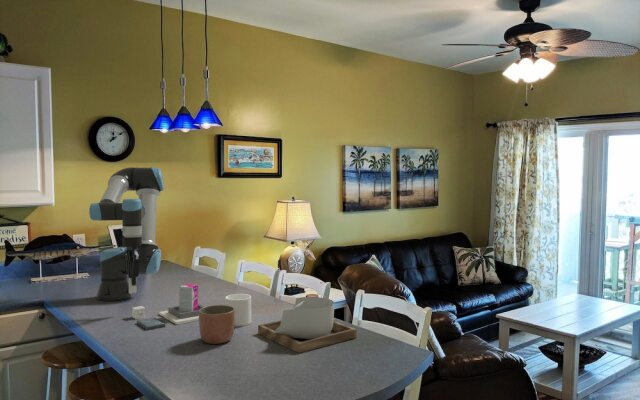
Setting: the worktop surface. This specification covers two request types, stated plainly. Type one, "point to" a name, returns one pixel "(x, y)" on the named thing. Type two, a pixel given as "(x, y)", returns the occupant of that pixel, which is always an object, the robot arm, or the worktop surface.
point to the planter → (216, 323)
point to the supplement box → (188, 298)
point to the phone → (150, 323)
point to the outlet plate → (180, 315)
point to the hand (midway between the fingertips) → (132, 292)
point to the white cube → (138, 312)
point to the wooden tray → (342, 335)
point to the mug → (240, 308)
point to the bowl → (308, 318)
